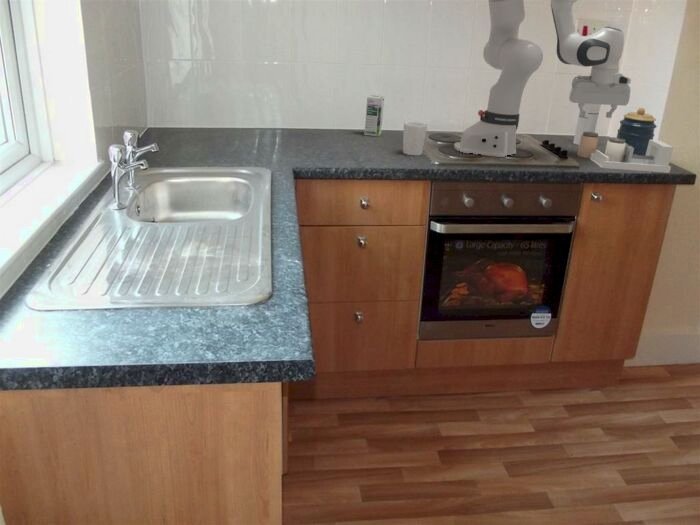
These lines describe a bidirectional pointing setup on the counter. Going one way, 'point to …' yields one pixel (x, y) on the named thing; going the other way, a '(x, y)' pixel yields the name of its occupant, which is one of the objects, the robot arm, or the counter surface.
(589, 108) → the cylindrical container
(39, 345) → the counter surface
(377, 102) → the syrup box
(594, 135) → the jar
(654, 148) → the white tray
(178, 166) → the counter surface
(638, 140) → the canister
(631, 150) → the pusher
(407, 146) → the white cup
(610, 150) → the lane jar
